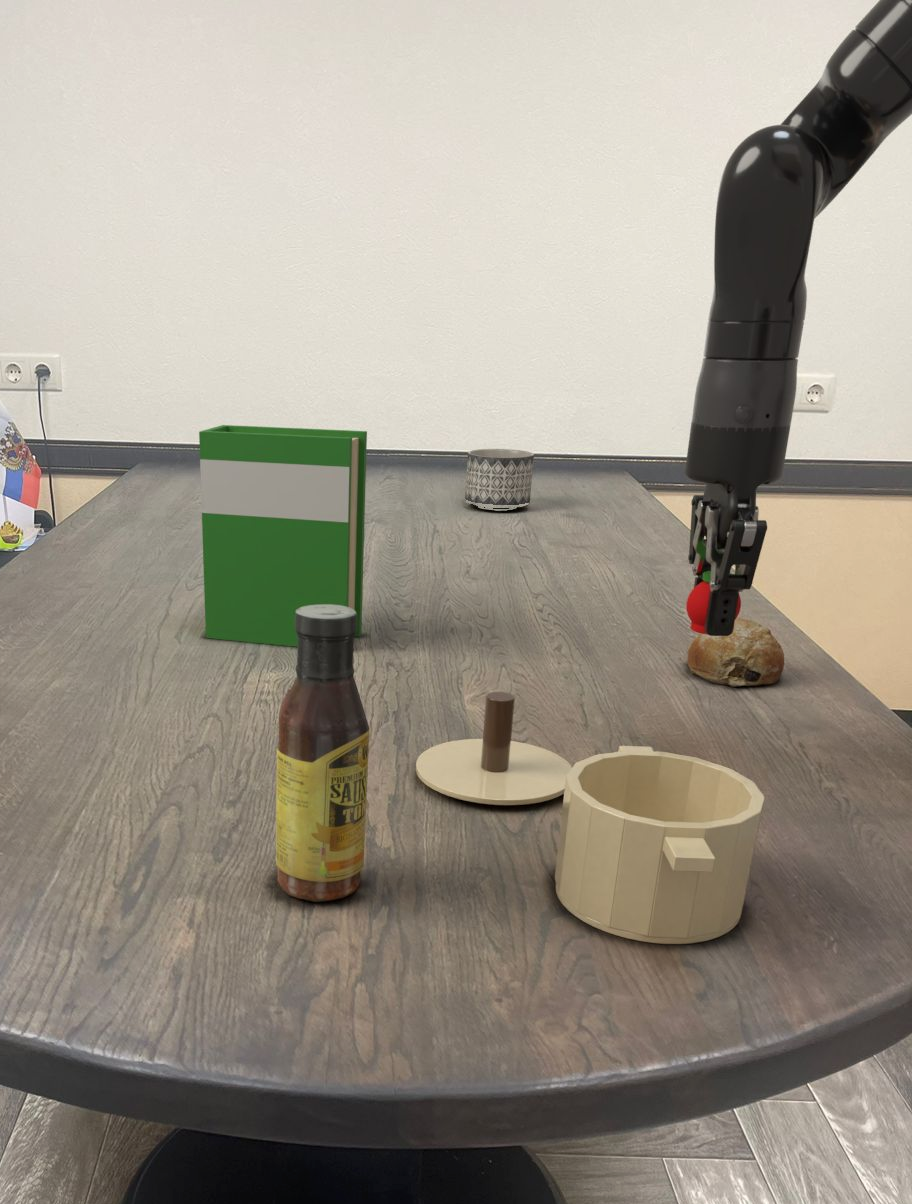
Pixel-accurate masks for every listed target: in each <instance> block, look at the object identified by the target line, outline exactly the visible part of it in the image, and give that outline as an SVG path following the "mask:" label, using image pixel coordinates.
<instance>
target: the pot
mask: <svg viewBox="0 0 912 1204" xmlns="http://www.w3.org/2000/svg"><path fill="white" fill-rule="evenodd" d="M765 799H766V798H765V795H764V794H763V793H762V791H761V790H760V789H759V787H758V785H756V783H755V782H754V781H753V780H751V779H749V778H748V777H746V776H744V775H742V774H740V773H739V772H737V771H735V770H734V769H732V768H730V767H727V766H724V765H721V764H718V763H715V762H711V761H708V760H705V759H702V758H700V757H696V756H689V755H684V754H677V753H672V752H667V751H654V749H653V747H652V746H640V745H639V746H637V745H619V746H618V751H614V752H605V753H600V754H598V753H597V754H595V755H592V756H589V757H587V758H585V759H581V760H580V761H577V762H575V763H574V764H573V766H572V769H571V770H570V772H569V773H568V774H567V776H566V782H565V791H564V794H563V800H562V802H563V803H562V808H561V809H562V810H561V819H560V827H559V836H558V837H559V838H558V844H557V854H556V861H555V871H554V880H555V886H554V887H555V888H554V889H555V893H556V896H557V898H558V900H559V902H560V903H561V905H562V906H563V907H564V908H565V909H566V910H567V911H568V912H570V914H572V915H573V916H575V917H576V918H577V919H579V920H581V921H582V922H583V923H586V924H587V925H589V926H591V927H593V928H595V929H598V930H601V931H602V932H605V933H608V934H611V935H614V936H617V937H621V938H624V939H627V940H631V941H632V940H633V941H637V942H644V943H651V944H659V945H661V944H662V945H687V944H695V943H696V944H697V943H703V942H707V941H711V940H715V939H716V938H719V937H722V936H723V935H725V934H728V933H729V932H730V931H731V930H733V929H734V928H735V927H736V926H737V925H738V923H739V922H740V921H741V920H740V919H741V918H742V912H743V909H744V905H745V902H746V901H745V900H746V896H747V890H748V886H749V880H750V875H751V871H752V864H753V860H754V855H755V851H756V844H757V841H758V840H757V839H758V835H759V829H760V824H761V819H762V814H763V810H764V804H765Z"/></svg>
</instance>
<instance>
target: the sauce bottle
mask: <svg viewBox="0 0 912 1204" xmlns="http://www.w3.org/2000/svg"><path fill="white" fill-rule="evenodd" d="M295 630H296V633H297V637H298V639H297V642H298V644H297V647H296V649H297V650H296V651H297V653H296V654H297V655H296V665H295V673H296V678H295V680H294V682H293V684H292V686H291V687H290V689H288V690H287V692H286V693H285V696H284V698H283V700H282V701H281V704H280V709H279V712H278V742H277V743H276V783H275V784H276V787H275V788H276V789H275V790H276V791H275V792H276V795H275V865H276V867H277V881H278V884H279V886H280V887H279V888H280V889H281V890H282V891H283V892H285V893H286V894H287V895H288V896H290V897H294V898H296V899H300V900H304V901H307V902H315V903H318V902H319V903H320V902H327V901H335V900H339V899H343V898H346V897H348V896H349V895H352V894H354V892H356V890H357V889H358V888H359V885H360V881H361V879H362V877H361V876H362V875H361V874H362V870H363V868H364V862H365V842H366V841H365V840H366V823H367V822H366V821H367V820H366V819H367V797H368V795H367V794H368V775H369V774H368V773H369V772H368V771H369V752H370V731H371V730H370V729H371V728H370V725H369V722H368V717H367V715H366V712H365V708H364V706H363V702H362V699H361V695H360V692H359V689H358V686H357V683H356V680H355V679H356V678H355V676H354V675H355V668H354V653H355V652H354V651H355V648H354V647H355V644H354V641H355V637H356V636H355V634H356V632H357V613H356V611H355V610H353V609H351V608H349V607H346V606H341V605H333V604H321V605H308V606H303V607H300V608H299V609H297V610H296V611H295Z"/></svg>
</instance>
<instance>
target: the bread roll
mask: <svg viewBox="0 0 912 1204" xmlns="http://www.w3.org/2000/svg"><path fill="white" fill-rule="evenodd" d="M686 651H687V658H686V665H687V666H688V668H689V669H690V671H691V673H692V675H695V676H698V677H700V678H702V679H704V680H706V681H708V682H711V683H714V684H719V685H726V686H727V685H729V686H731V687H732V688H736V687H741V686H743V687H749V686H760V685H772V684H775V683H776V682H777V681H778V680H779V679H780V677H781V676H782V673H783V672H784V668H785V653H784V650H783V648H782V646H781V644H780V643H779V642H778V640H777V638H775V636H774V635H772V631H771V630H770V629H769V627H766V626H763V625H761V624H759V623H758V622H756V621H753V620H749V619H745V618H742V617H741V618H740V617H739V618H738V617H737V618H736V619H735V622H734V628H733V632H732V634H731V635H729V636H710V635H708V634H702V633H699V635H698V636H696V637H694V639H692V641H691V642H690V645H689V646H688V648H687V650H686Z"/></svg>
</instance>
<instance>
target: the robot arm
mask: <svg viewBox="0 0 912 1204" xmlns="http://www.w3.org/2000/svg"><path fill="white" fill-rule="evenodd" d="M911 116H912V0H879V1H877V2H876V4H875V5H874V6H873V7H872V8H871V9H870V10H869V11H868V12H867V13H866V15H865V16H864V17H863V18H862V19H861V20H860V21H859V22H858V23H857V24H856V25H855V26H854V29H852V30H851V31H850V32H849V33H848V35H846V36H845V38H844V39H843V40H842V42H841V43H840V44H839V45H838V46H837V48H836V49H835V51H834V52H833V53H832V55H831V56H830V57H829V59H828V61H827V62H826V65H825V67H824V69H823V72H822V74H821V76H820V79H819V80H818V81H817V83H816V84H815V85H814V86H813V88H812V89H810V91H809V92H808V93H807V94H806V95H805V97H803V99H802V100H801V101H800V102H799V103H798V104H797V105H796V106H795V108H794V109H793V110H792V111H791V112H790V113H789V114H788V115H787V116H786V118H784V120H783V121H782V122H781V123H780V124H774V125H770V126H766V127H763V128H760V129H759V130H756V131H754V132H753V133H751V134H750V135H748V136H747V137H746V138H744V140H742V141H741V142H740V144H738V145H737V146H736V148H735V149H734V150H733V151H732V153H731V155H730V156H729V158H728V160H727V161H726V164H725V166H724V168H723V171H722V174H721V177H720V181H719V187H718V193H717V199H716V208H715V222H714V245H713V246H714V251H713V277H714V278H713V293H712V299H711V303H710V307H709V313H708V321H707V326H706V334H705V341H704V350H703V358H702V363H701V367H700V372H699V374H698V379H697V383H696V388H695V393H694V401H693V409H692V415H691V416H692V417H691V423H690V431H689V438H688V445H687V452H686V453H687V454H686V461H685V468H684V472H685V475H686V477H687V478H688V479H690V480H693V481H695V482H701V483H705V484H706V485H705V488H704V492H703V494H694V495H693V496H692V499H691V504H690V505H691V513H690V514H691V517H690V533H689V550H688V557H687V559H688V564H689V565H692V568H691V570H692V575H693V576H694V577H695V578H694V583H693V589H694V588H695V587H696V586H697V585H698V584H700V583H701V582H703V579H702V578H703V573H704V572H706V571H711V580H710V593H709V600H708V607H707V614H706V620H705V627H704V630H705V632H706V633H707V634H708V635H710V636H729V635H731V634H732V632H733V628H734V622H735V616H736V609H737V603H738V597H739V595H740V593H743V591H744V590H751V588H752V585H753V583H754V578H755V574H756V571H757V566H758V563H759V560H760V556H761V552H762V548H763V545H764V541H765V537H766V534H767V531H768V522H767V520H765V519H759V515H760V513H759V512H760V511H759V510H760V509H759V506H758V505H757V490H758V488H759V487H760V486H761V485H771V484H774V483H777V482H778V481H779V480H781V478H782V477H783V474H784V468H785V461H786V455H787V450H788V444H789V438H790V437H789V436H790V432H791V427H792V420H793V414H794V408H795V401H796V396H797V395H796V394H797V386H798V362H799V359H798V358H799V355H800V347H801V343H802V336H803V330H804V324H805V319H806V312H807V302H808V301H807V300H808V292H807V291H808V290H807V289H808V288H807V284H806V279H805V276H806V275H805V274H806V269H807V265H808V264H807V263H808V259H809V258H808V257H809V251H810V247H811V241H812V236H813V235H812V234H813V229H814V224H815V223H814V222H815V219H816V218H818V216H819V215H820V214H821V213H823V211H824V210H825V209H826V208H827V207H828V206H829V205H830V204H831V203H832V202H833V201H834V200H835V199H836V198H837V196H838V195H839V194H840V193H841V192H842V191H843V190H844V189H845V187H846V186H847V185H848V184H849V183H850V181H852V179H853V178H854V177H855V176H856V174H857V173H858V172H859V171H860V170H861V169H862V168H863V167H864V166H865V164H866V163H867V162H868V161H869V159H870V158H871V157H872V156H873V155H874V153H875V152H876V151H877V150H878V148H879V147H880V146H881V145H882V143H883V142H884V141H885V140H886V139H887V138H888V137H889V136H890V135H891V134H892V133H893V132H894V131H895V130H896V129H897V128H898V127H899V126H900V125H902V124H903V123H904V122H906V120H907V119H909V117H911ZM733 566H734V573H731V569H732V567H733ZM730 573H731V574H730Z"/></svg>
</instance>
